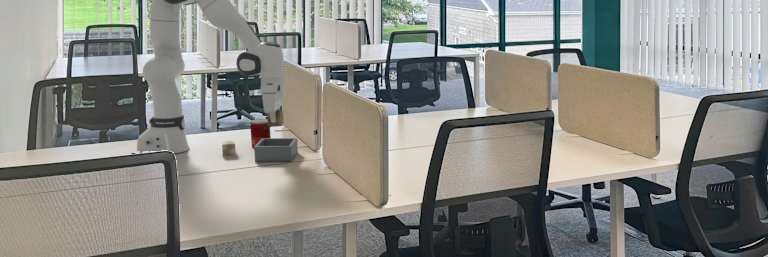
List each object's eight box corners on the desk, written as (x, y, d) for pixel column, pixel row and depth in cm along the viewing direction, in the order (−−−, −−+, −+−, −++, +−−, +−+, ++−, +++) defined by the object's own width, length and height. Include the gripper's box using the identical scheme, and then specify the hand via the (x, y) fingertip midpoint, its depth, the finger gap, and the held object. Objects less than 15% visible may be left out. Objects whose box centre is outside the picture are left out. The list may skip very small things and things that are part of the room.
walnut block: (267, 126, 273) (267, 113, 272) (270, 123, 278) (269, 110, 277) (280, 125, 273) (280, 112, 272) (283, 123, 278) (282, 110, 277)
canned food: (267, 149, 292) (265, 122, 289) (248, 148, 293) (247, 122, 291) (273, 144, 299) (272, 118, 297) (255, 144, 301) (254, 118, 298)
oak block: (222, 156, 281) (221, 144, 280) (222, 153, 286) (222, 141, 285) (235, 156, 282) (235, 143, 281) (235, 153, 287) (234, 140, 286)
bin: (255, 162, 272) (254, 146, 270) (262, 153, 285) (262, 138, 284) (291, 161, 271) (291, 146, 270) (297, 152, 285) (297, 138, 283)
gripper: (270, 80, 282) (272, 115, 285) (259, 89, 263) (261, 126, 265) (286, 80, 282) (288, 115, 285) (276, 88, 262) (278, 125, 265)
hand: (275, 120), depth 275 cm, fingers closed on walnut block, 5 cm apart
